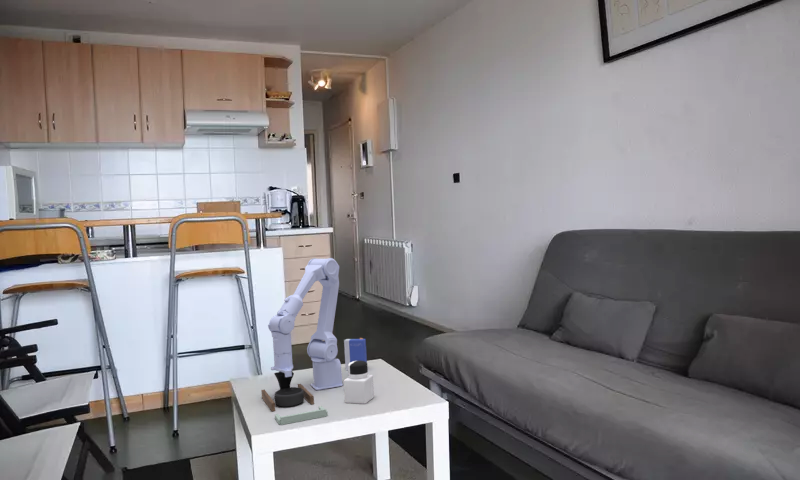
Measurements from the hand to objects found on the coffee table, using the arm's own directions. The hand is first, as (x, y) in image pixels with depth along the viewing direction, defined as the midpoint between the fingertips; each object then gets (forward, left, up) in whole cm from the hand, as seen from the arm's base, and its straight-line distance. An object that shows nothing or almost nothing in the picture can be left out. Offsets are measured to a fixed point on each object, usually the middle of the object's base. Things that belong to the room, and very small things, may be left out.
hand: (285, 394), depth 181 cm
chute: (0, +2, -1) cm, 3 cm away
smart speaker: (0, +6, -2) cm, 6 cm away
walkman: (-32, -22, -2) cm, 39 cm away
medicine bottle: (-20, +15, -2) cm, 25 cm away
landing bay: (0, +21, -1) cm, 21 cm away
